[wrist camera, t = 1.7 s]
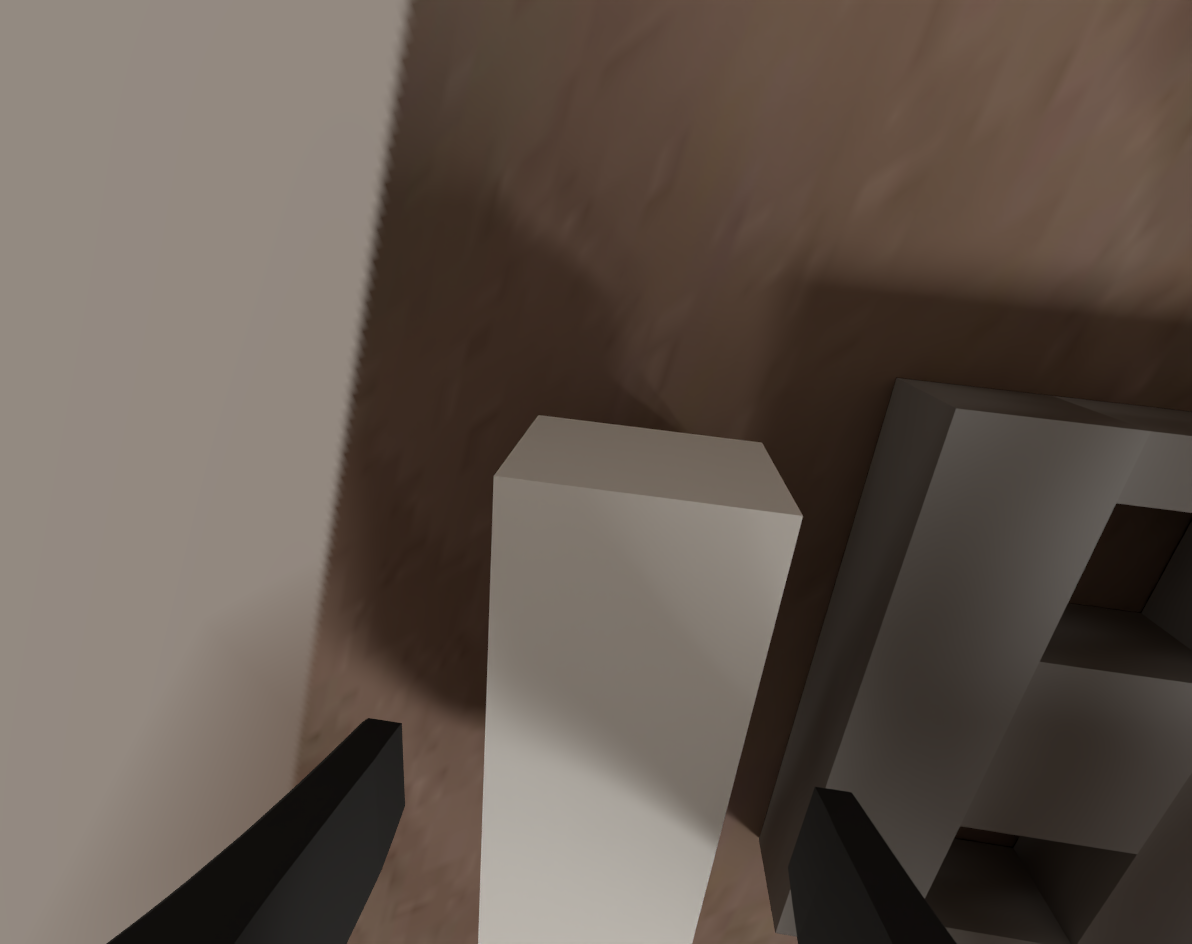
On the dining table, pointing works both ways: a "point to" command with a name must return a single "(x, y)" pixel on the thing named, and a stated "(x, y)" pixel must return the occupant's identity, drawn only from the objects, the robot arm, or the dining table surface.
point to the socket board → (1007, 673)
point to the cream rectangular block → (621, 673)
